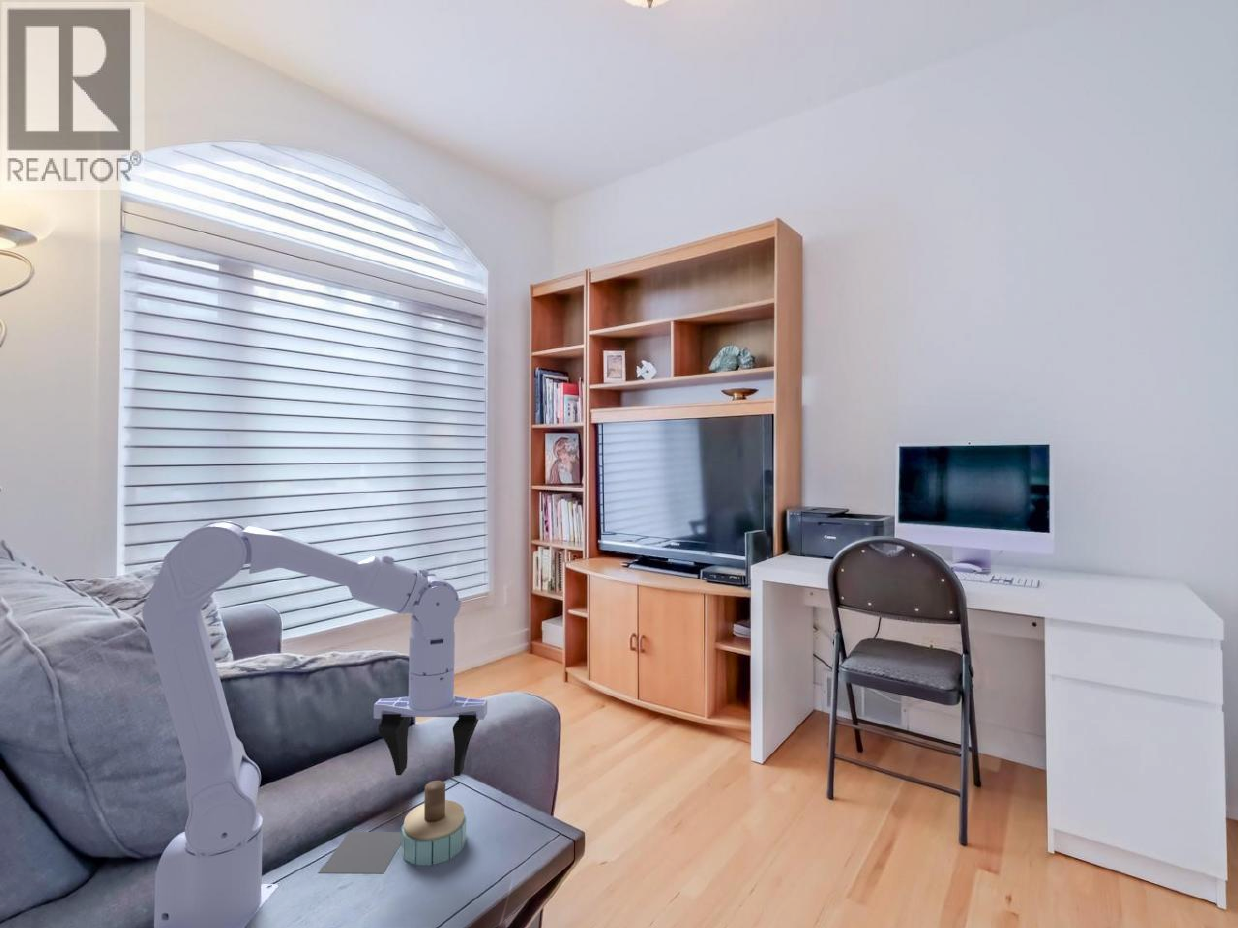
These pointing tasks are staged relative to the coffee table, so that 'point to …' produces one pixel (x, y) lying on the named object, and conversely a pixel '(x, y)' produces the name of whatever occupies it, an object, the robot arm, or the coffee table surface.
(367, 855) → the mat
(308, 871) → the coffee table surface
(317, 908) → the coffee table surface
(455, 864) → the coffee table surface
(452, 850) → the bowl
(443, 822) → the lid
